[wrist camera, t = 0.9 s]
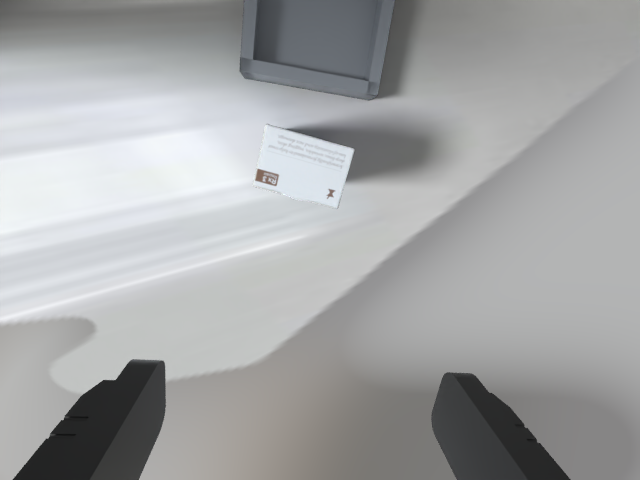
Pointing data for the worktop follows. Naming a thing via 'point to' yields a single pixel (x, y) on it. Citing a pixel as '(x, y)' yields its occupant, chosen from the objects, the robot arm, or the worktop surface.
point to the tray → (317, 44)
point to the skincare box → (302, 166)
